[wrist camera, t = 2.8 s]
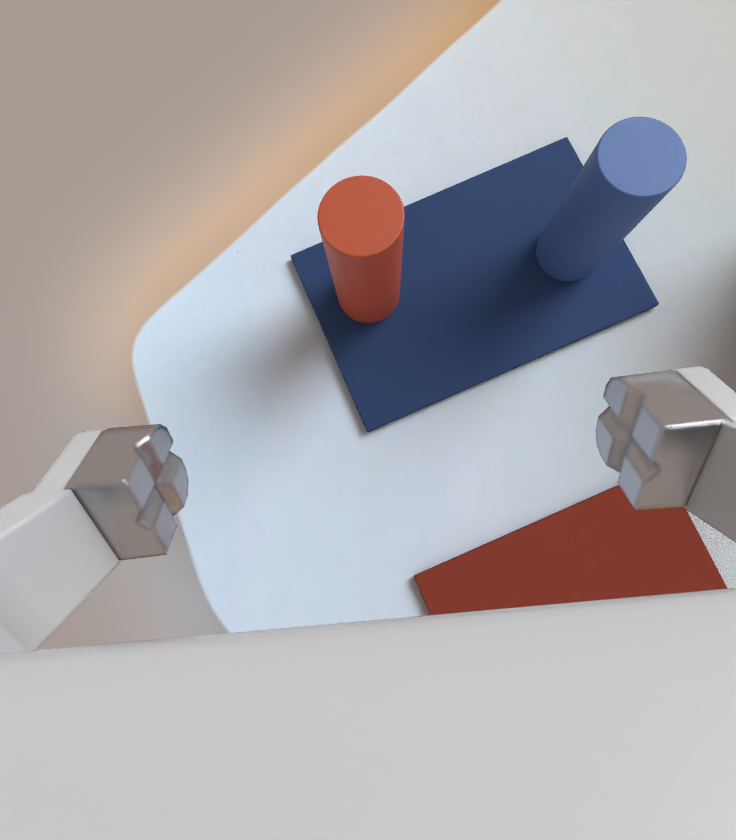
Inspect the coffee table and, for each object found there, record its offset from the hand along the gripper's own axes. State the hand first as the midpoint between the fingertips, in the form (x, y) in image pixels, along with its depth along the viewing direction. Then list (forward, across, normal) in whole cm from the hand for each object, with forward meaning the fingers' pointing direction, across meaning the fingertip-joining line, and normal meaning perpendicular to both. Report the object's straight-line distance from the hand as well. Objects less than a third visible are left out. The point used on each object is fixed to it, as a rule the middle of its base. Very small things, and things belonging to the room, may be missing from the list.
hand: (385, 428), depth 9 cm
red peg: (+25, 0, +8) cm, 26 cm away
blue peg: (+26, -14, +7) cm, 31 cm away
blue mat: (+26, -7, +8) cm, 28 cm away
